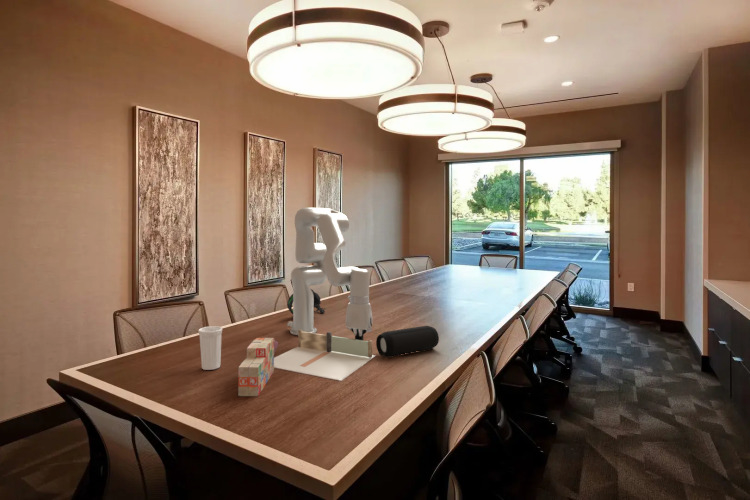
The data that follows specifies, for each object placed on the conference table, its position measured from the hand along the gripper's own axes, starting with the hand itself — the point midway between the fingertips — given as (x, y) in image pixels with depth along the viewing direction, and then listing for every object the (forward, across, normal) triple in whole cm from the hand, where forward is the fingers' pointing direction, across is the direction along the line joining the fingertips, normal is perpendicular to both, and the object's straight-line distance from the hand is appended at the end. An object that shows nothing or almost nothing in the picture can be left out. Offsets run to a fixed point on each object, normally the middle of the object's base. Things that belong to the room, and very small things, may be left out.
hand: (359, 344), depth 166 cm
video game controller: (+4, -35, -15) cm, 38 cm away
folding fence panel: (+3, -2, -4) cm, 5 cm away
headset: (+4, -54, +44) cm, 70 cm away
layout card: (+4, -10, -14) cm, 17 cm away
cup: (+4, -41, -38) cm, 56 cm away
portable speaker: (+4, +17, +10) cm, 20 cm away
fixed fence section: (+3, -19, -4) cm, 19 cm away
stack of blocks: (+4, -17, -41) cm, 45 cm away
